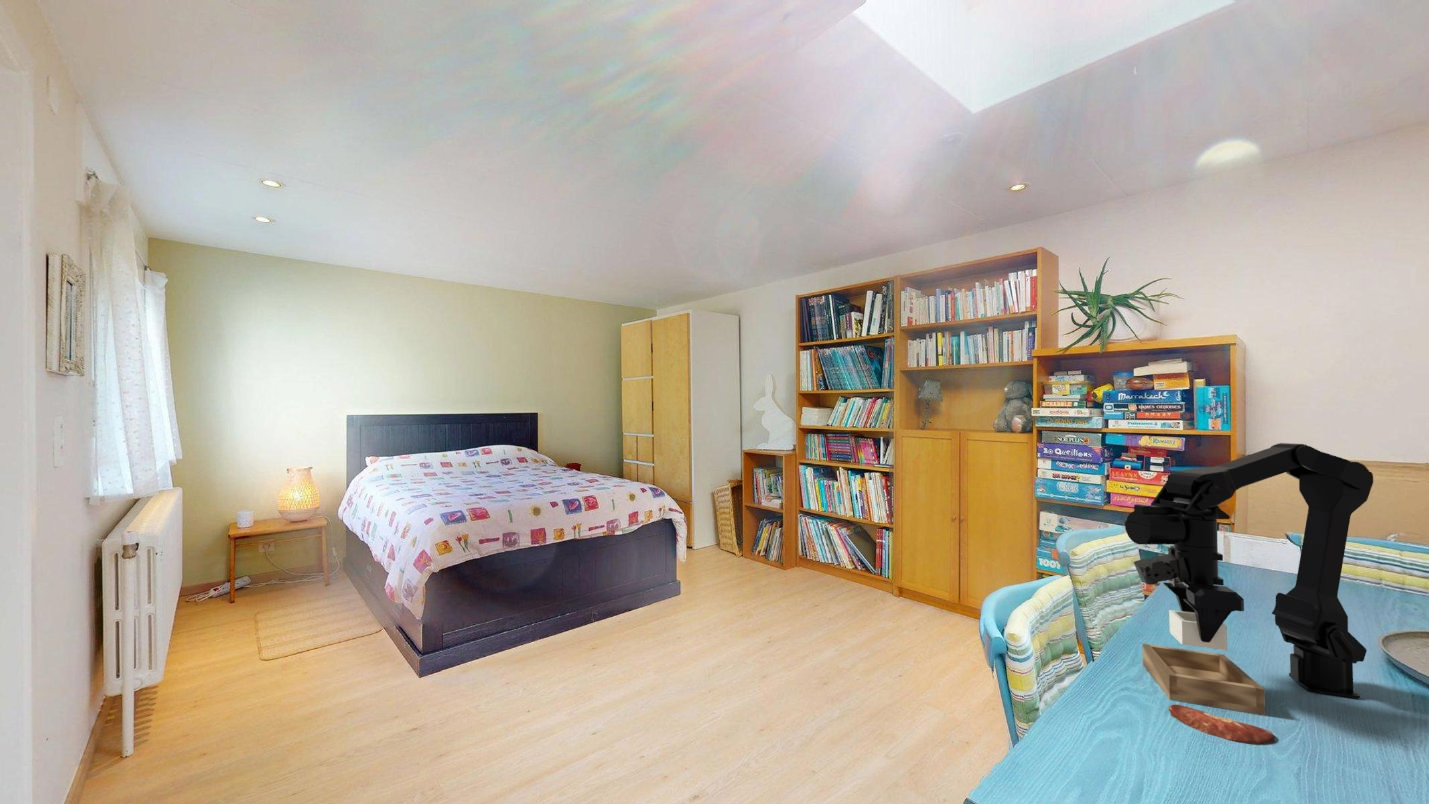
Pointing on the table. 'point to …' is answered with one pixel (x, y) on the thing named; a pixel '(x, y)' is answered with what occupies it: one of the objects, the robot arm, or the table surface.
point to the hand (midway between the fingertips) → (1197, 635)
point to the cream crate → (1194, 631)
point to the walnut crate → (1203, 679)
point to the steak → (1221, 726)
